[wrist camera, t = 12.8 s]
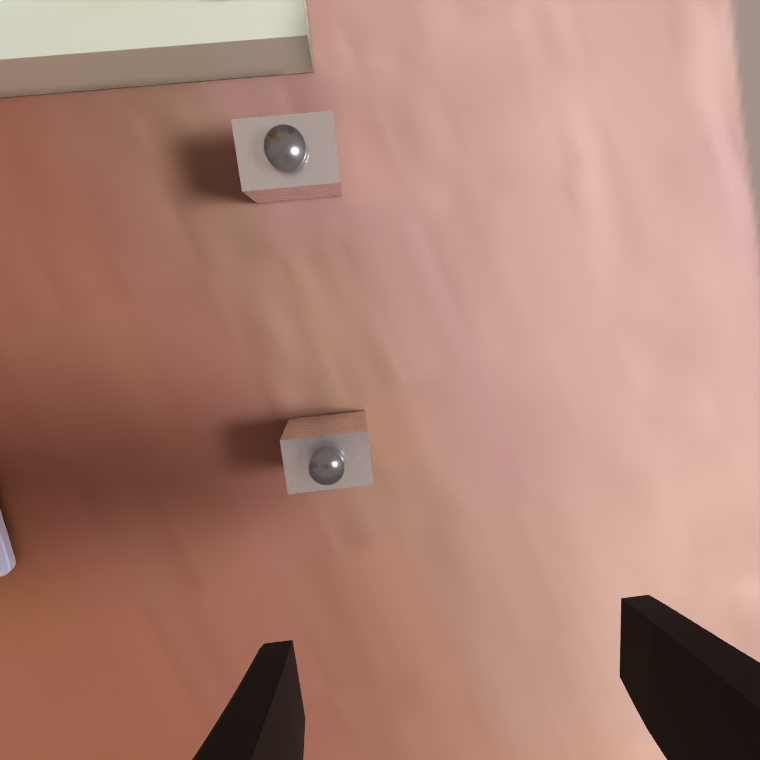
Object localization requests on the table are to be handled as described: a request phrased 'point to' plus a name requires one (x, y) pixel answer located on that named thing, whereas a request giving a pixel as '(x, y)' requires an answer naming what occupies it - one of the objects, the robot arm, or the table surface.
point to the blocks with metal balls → (287, 183)
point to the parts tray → (147, 42)
